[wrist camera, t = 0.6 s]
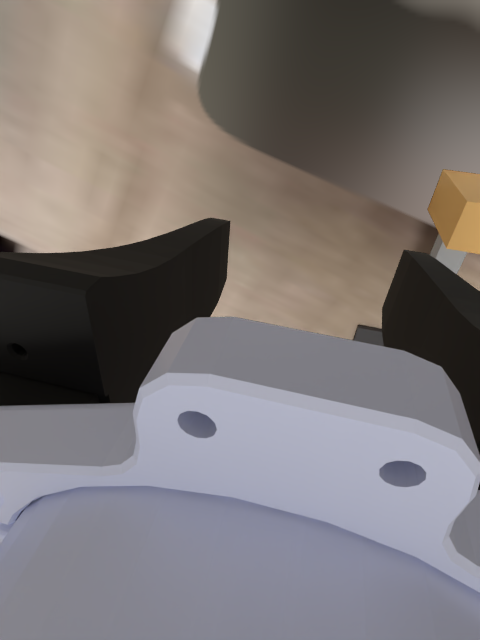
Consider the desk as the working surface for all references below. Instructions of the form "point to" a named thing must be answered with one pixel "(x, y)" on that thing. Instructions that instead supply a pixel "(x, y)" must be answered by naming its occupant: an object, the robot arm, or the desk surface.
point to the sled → (456, 217)
